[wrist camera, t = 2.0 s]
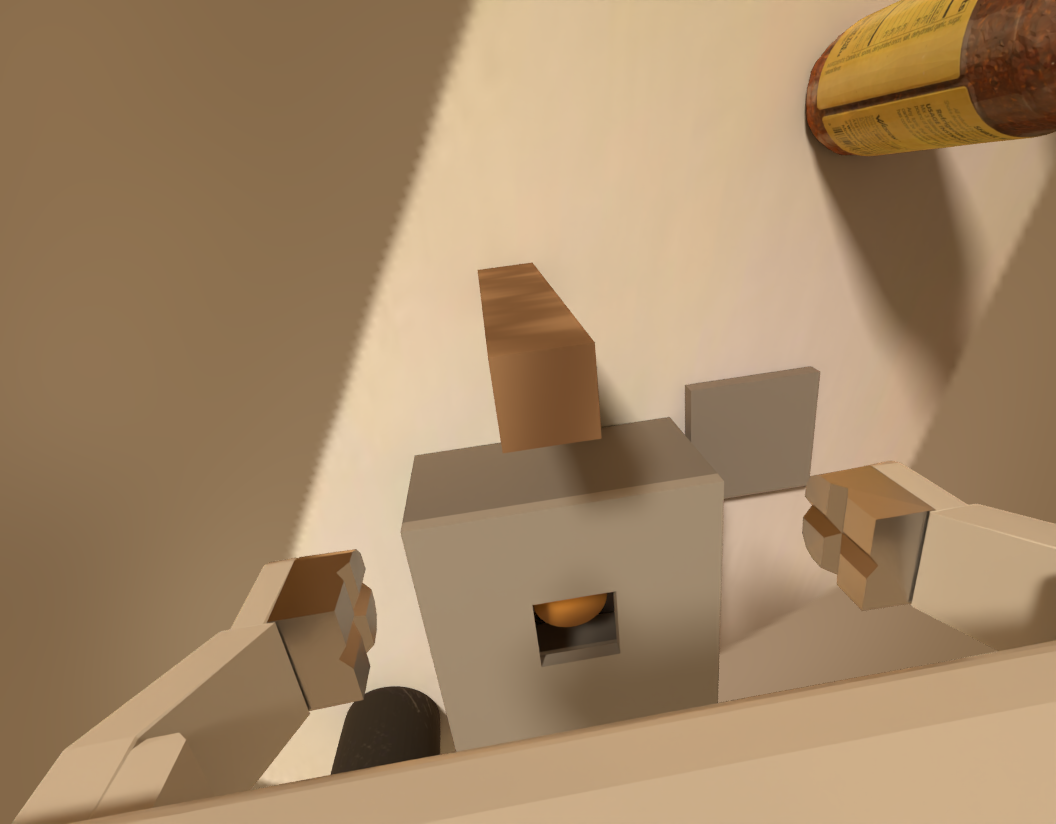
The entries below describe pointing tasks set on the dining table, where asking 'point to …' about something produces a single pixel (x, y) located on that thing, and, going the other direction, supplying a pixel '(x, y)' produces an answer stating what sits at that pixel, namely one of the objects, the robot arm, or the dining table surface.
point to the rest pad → (755, 428)
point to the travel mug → (388, 730)
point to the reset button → (571, 610)
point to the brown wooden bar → (537, 362)
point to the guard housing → (568, 580)
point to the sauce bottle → (937, 77)
